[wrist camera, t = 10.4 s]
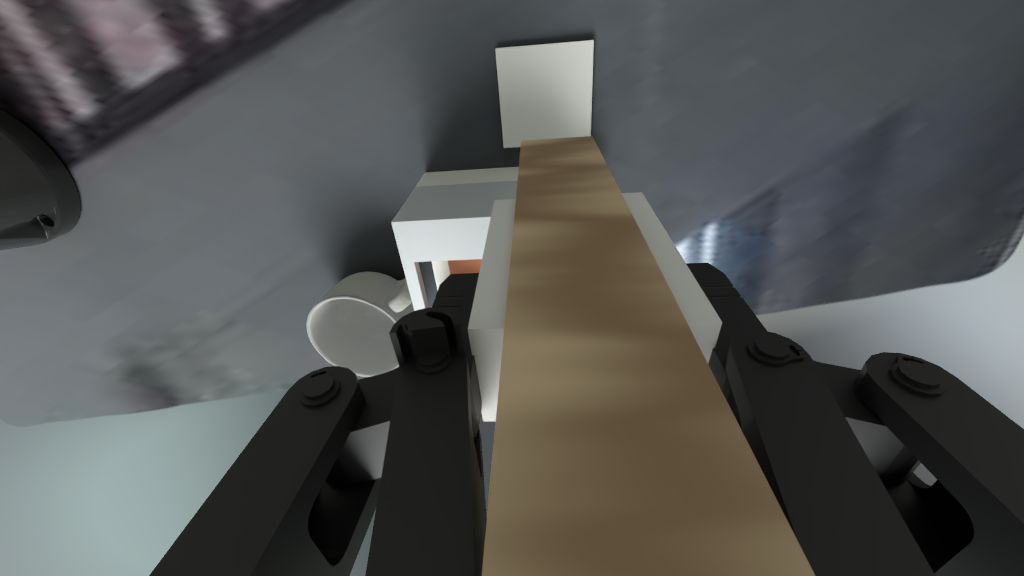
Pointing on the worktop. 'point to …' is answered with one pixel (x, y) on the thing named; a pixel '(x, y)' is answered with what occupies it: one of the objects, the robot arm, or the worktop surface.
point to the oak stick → (612, 404)
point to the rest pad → (545, 91)
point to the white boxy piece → (448, 221)
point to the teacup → (360, 322)
